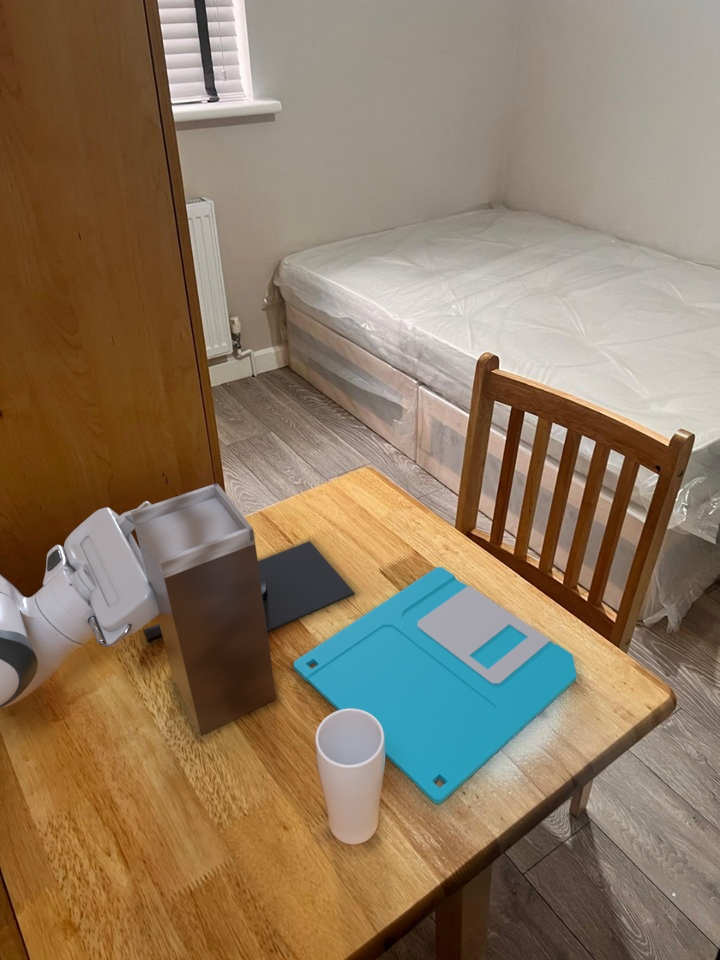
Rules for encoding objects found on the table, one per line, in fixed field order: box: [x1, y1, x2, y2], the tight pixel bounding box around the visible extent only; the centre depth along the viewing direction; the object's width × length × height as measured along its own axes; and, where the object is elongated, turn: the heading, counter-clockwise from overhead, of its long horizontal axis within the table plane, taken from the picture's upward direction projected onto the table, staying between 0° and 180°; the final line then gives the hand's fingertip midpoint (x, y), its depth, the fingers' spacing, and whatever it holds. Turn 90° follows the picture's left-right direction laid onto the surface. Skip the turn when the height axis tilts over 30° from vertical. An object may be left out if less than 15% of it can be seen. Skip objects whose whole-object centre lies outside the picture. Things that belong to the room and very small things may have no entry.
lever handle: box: [142, 580, 268, 644], centre depth 103 cm, size 18×4×2 cm, turn 120°
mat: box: [258, 540, 355, 633], centre depth 107 cm, size 24×14×1 cm, turn 121°
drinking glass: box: [314, 709, 386, 846], centre depth 74 cm, size 7×7×15 cm
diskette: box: [293, 566, 578, 805], centre depth 95 cm, size 26×28×1 cm
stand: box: [131, 482, 277, 737], centre depth 85 cm, size 10×10×28 cm
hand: (164, 525), depth 92 cm, fingers open, 8 cm apart
